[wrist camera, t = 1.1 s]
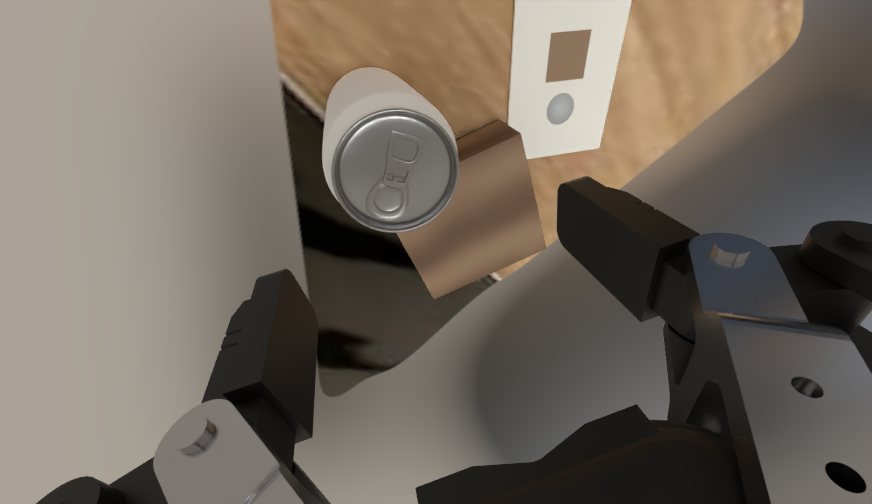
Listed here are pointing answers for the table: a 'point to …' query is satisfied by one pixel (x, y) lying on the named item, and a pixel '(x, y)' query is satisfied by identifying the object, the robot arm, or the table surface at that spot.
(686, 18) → the table surface
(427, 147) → the can
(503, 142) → the base block
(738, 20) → the table surface
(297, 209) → the table surface
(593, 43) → the page
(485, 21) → the table surface
